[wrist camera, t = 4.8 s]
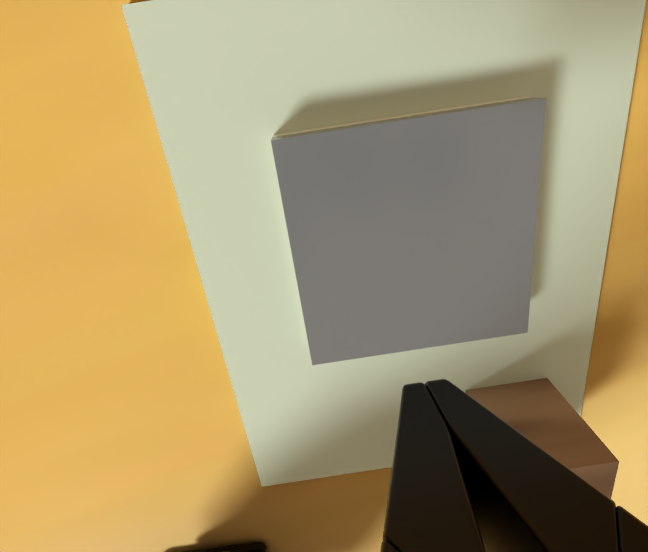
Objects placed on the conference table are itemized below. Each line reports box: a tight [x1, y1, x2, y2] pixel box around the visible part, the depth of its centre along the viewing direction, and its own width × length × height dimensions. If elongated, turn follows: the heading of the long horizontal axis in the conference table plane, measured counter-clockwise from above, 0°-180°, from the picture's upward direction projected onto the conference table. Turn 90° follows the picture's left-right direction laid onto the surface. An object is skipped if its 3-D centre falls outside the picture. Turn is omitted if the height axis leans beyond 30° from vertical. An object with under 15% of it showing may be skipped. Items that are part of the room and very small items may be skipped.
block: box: [466, 378, 619, 499], centre depth 19 cm, size 4×4×5 cm
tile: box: [271, 97, 546, 365], centre depth 16 cm, size 9×2×9 cm
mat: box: [121, 0, 646, 487], centre depth 18 cm, size 22×17×1 cm
